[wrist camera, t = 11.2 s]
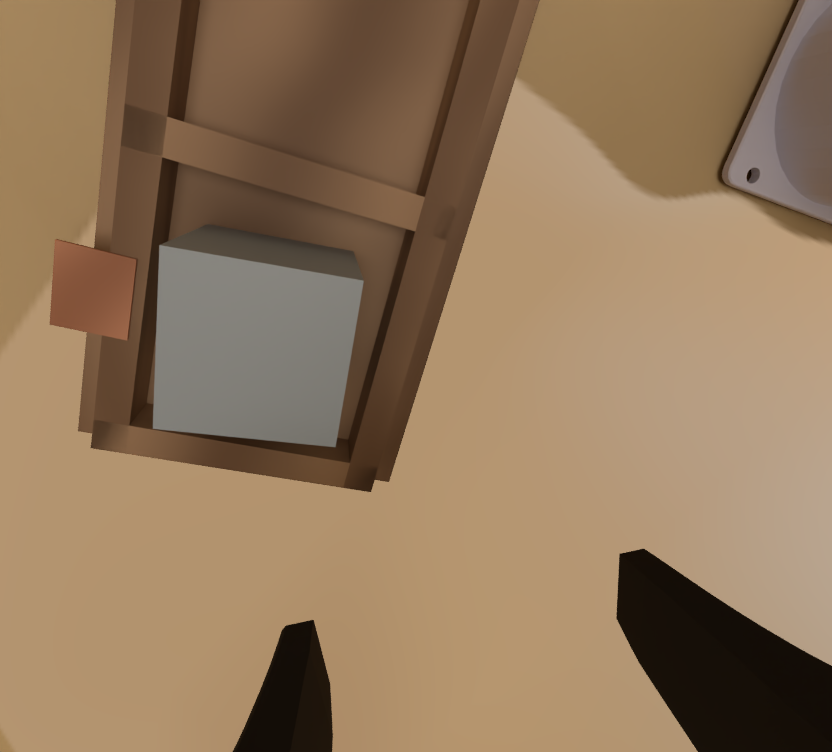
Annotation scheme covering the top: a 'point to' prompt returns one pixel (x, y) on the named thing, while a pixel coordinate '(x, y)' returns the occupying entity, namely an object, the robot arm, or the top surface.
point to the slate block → (254, 336)
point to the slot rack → (289, 192)
